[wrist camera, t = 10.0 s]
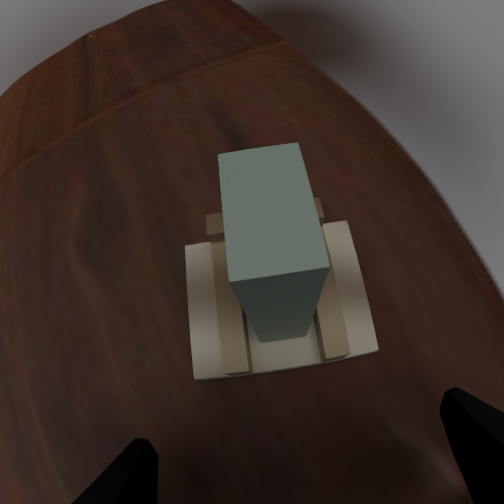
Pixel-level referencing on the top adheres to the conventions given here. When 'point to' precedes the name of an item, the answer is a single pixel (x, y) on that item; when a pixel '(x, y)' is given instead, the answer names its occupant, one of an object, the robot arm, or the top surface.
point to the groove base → (240, 329)
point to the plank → (272, 239)
